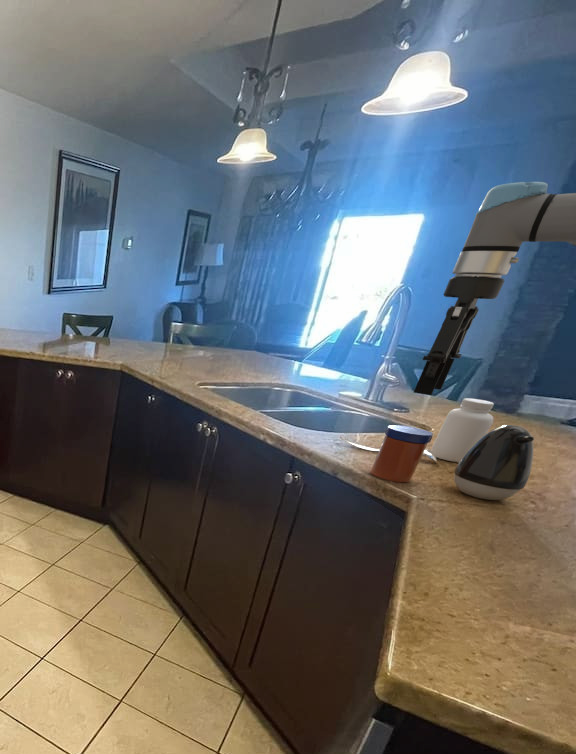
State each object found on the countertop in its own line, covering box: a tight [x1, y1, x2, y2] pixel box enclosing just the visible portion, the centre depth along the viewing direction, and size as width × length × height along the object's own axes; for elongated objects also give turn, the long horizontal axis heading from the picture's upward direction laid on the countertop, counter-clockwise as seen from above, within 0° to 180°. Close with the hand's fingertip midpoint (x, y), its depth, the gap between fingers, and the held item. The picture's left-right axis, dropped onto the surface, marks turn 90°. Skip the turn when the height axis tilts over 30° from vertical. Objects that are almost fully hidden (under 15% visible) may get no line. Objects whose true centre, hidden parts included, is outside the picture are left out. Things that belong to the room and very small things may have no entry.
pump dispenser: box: [453, 424, 535, 501], centre depth 99 cm, size 10×10×15 cm
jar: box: [369, 435, 429, 483], centre depth 109 cm, size 7×7×10 cm
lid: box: [384, 424, 434, 444], centre depth 107 cm, size 8×7×2 cm
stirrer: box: [339, 435, 438, 464], centre depth 126 cm, size 20×4×5 cm
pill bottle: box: [430, 397, 495, 464], centre depth 121 cm, size 8×8×15 cm
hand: (427, 390), depth 103 cm, fingers open, 10 cm apart
